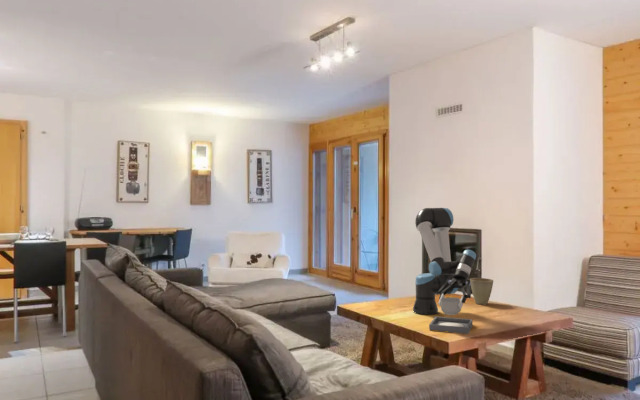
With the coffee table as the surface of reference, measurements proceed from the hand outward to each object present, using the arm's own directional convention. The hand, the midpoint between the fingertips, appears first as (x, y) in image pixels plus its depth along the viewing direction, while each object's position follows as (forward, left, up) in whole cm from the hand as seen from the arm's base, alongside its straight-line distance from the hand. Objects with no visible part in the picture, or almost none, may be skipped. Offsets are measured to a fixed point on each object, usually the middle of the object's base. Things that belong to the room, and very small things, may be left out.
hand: (449, 306), depth 264 cm
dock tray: (0, +3, -12) cm, 13 cm away
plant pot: (+10, +76, -12) cm, 78 cm away
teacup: (0, +3, -5) cm, 5 cm away
